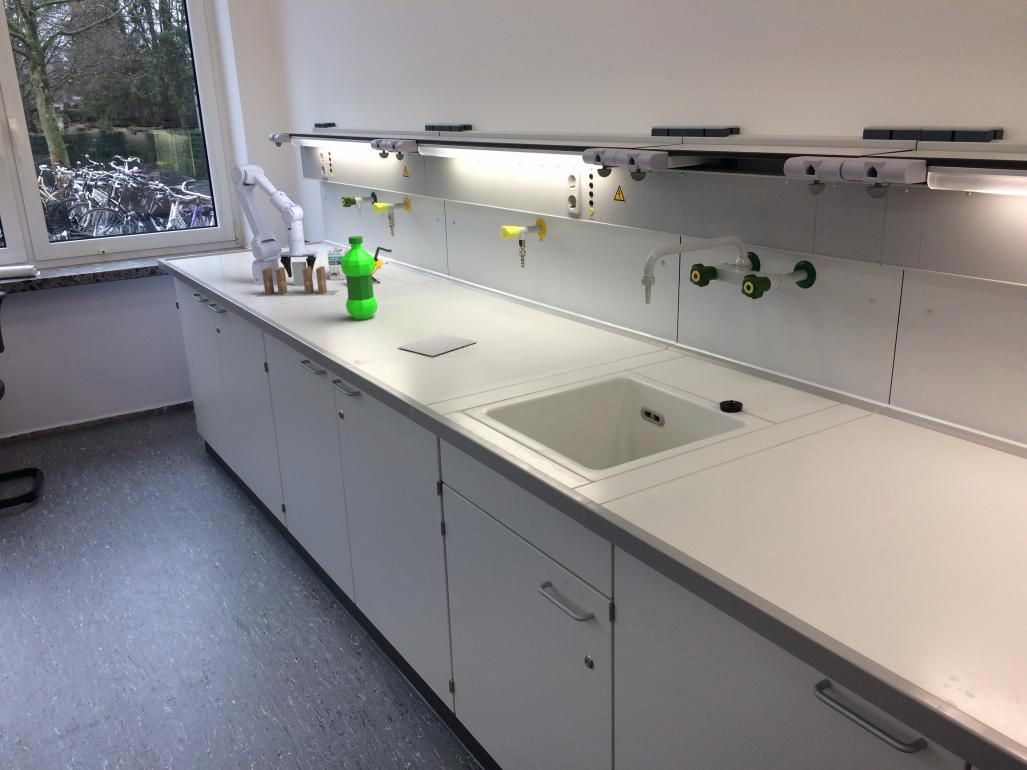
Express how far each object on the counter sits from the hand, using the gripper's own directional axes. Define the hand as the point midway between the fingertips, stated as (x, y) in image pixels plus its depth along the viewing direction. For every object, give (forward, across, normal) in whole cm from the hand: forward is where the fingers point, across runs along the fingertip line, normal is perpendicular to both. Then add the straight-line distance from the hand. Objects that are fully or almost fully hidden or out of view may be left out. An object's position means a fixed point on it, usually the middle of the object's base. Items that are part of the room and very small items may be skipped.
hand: (300, 276), depth 310 cm
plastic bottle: (+4, +35, -49) cm, 60 cm away
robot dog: (+4, +26, +2) cm, 26 cm away
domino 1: (+3, -7, -14) cm, 16 cm away
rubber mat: (+4, +3, -14) cm, 15 cm away
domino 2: (+3, -2, -14) cm, 15 cm away
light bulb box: (+4, +10, +16) cm, 19 cm away
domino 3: (+3, +7, -14) cm, 16 cm away
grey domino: (+4, 0, 0) cm, 4 cm away
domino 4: (+3, +12, -14) cm, 19 cm away
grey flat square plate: (+5, +65, -88) cm, 109 cm away
